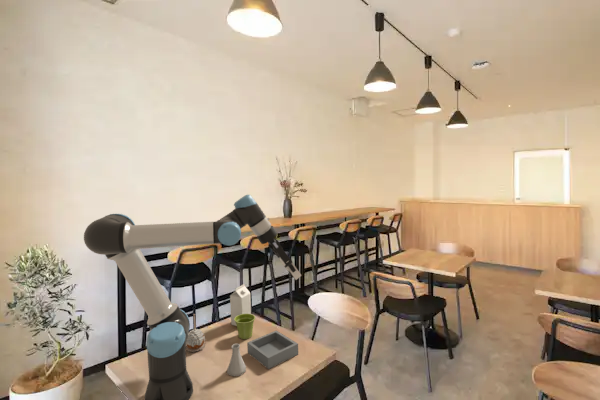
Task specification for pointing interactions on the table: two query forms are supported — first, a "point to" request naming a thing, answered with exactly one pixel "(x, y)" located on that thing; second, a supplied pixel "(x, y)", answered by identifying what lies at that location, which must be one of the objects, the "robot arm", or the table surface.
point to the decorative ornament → (195, 339)
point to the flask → (236, 362)
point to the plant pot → (244, 325)
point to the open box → (272, 349)
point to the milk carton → (240, 302)
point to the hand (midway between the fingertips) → (294, 273)
